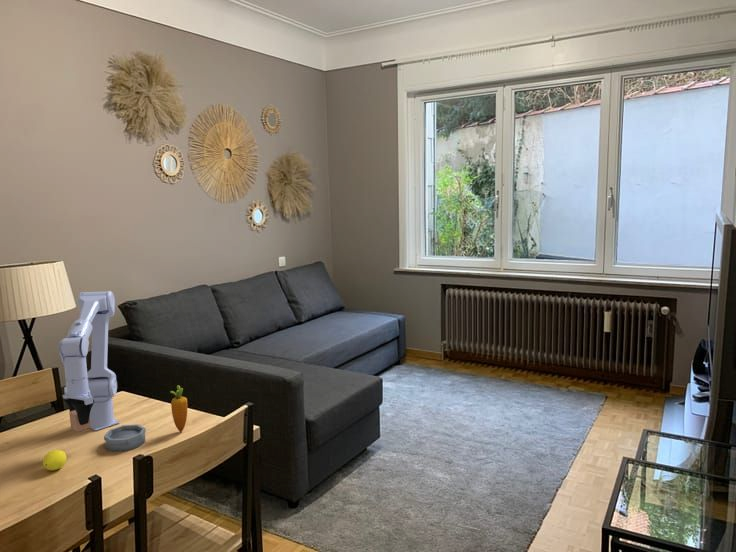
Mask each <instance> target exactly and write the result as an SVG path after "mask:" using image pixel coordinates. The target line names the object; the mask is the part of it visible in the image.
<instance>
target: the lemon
mask: <svg viewBox="0 0 736 552" xmlns="http://www.w3.org/2000/svg"><path fill="white" fill-rule="evenodd" d="M66 462H67V455H66V453H65V451H63V450H60V449H53V450H51V451H49V452H47V453H46V454H45V455H44V457H43V459H42V466H43V467H44V469H45V470H47V471H56V470H60V469H62V467H64V466H65V464H66Z"/></svg>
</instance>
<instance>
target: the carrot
mask: <svg viewBox="0 0 736 552" xmlns="http://www.w3.org/2000/svg"><path fill="white" fill-rule="evenodd" d="M176 389H177V390H176V392H175V391H173V390H170V391H169V392H170V394H173V396H175V397H174V398H172V400H171V402H170V404H171V405H170V406H171V413H172V418H173V419H172V420H173V422H174V425H175V428H177V430H178V431H179V432H180V433H182V432H183V430H184V429H185V426H186V424H187V423H186V422H187V420H188V398H187V397H185V396H182V394H183V391H184V388H183V387H181V386H180V385H177V386H176Z"/></svg>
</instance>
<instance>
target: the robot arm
mask: <svg viewBox="0 0 736 552" xmlns="http://www.w3.org/2000/svg"><path fill="white" fill-rule="evenodd" d="M115 300H116V299H115V294H114V293H113V292H112V291H111V290H107V291H88V292H87V291H82V292H80V293H79V295H78V297H77V305H78V309H79V315H78V318H77V319H75V321H73V322H72V324H71V326H70V328H69V330H68V333H67V334H66V337H64V338H62V339H61V340H60V341H59V343H58V344H59V345H58V354H59V357H60V359H61V364H62V365H63V368H64V377H65V379H64V380H65V387H64V388H63V390H64V394H63V395H62V398H63V399H62V401H63V402H64V403H65V405H66V407H67V408H68V410H69V412H70V411H74V410H76V413H77V416H78V420H79V423H80V425H84V424H87V423H88V422H89V416H90V422H91V427H89V428H90V429H92V430H93V431H95V432H96V431H99V430H103V429H105V428H109V427H110V426H111V427H112V426H114V425H117V424H118V425H119V423H120V421H119V420H117V419H115V418H114V417H115V416H114V415H115V414H114V403H113V397H115V395H116V394H117V390H118V381H117V375H116V373H115V372H114V371H113V370H111V369H109V368H108V352H109V351H108V350H109V349H108V345H109V324H110V318H112V317H114V316H115V313H116V312H115V310H116V309H115V308H116V301H115ZM90 336H91V355H90V356H91V357H90V358H91V360H90V361H91V362H90V369H89V370H88V368H87V366H88V365H87V355H88V353H89V345H90V341H89V339H90Z"/></svg>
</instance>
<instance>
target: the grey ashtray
mask: <svg viewBox="0 0 736 552" xmlns="http://www.w3.org/2000/svg"><path fill="white" fill-rule="evenodd" d="M146 432H147V430H146V427H145V426H143V425H141V424H137V423H136V424H123V425H119V426H117V427H114V428H111V429H109V430H108V431H107V432H106V433H105V434H103V440H104V442H105V448H106V450H107V451H110V452H115V453H117V452H118V453H119V452H121V453H122V452H128V451H131V450H135V449H136V448H140V447H141V446H143V445H144V444H145V442H146Z"/></svg>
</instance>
